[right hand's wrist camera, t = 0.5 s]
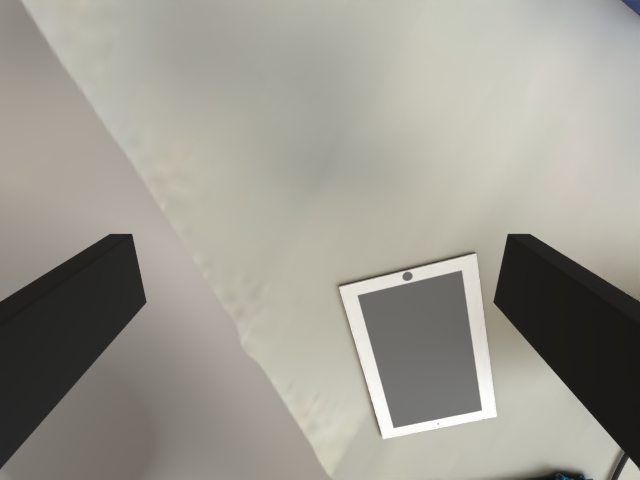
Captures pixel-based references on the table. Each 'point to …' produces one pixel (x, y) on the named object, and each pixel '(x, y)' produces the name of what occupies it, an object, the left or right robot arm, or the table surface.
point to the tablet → (423, 345)
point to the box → (633, 5)
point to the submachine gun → (562, 479)
